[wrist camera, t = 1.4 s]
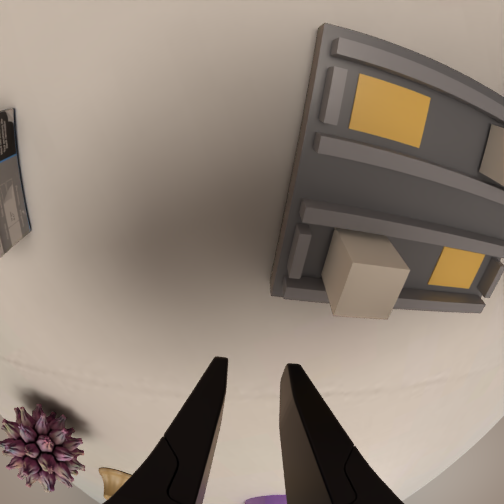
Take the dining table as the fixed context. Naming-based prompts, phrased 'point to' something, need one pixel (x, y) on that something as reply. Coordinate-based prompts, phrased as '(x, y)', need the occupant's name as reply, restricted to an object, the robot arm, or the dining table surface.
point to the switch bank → (394, 173)
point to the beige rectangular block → (494, 155)
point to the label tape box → (10, 187)
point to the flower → (41, 448)
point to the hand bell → (112, 480)
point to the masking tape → (268, 500)
